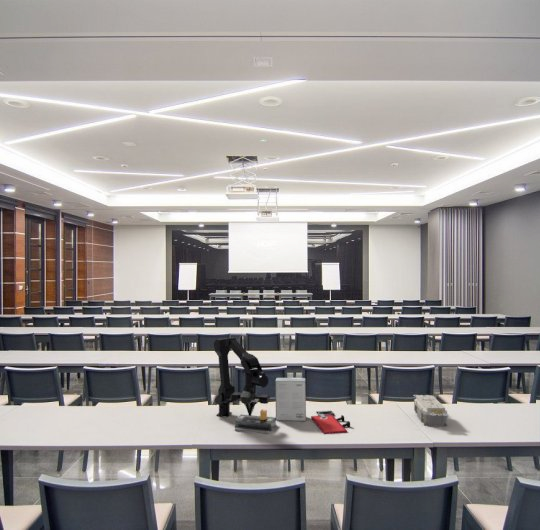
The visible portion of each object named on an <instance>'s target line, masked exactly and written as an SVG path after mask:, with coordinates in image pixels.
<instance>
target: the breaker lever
mask: <svg viewBox="0 0 540 530" xmlns="http://www.w3.org/2000/svg"><path fill="white" fill-rule="evenodd" d="M267 411H268V409H263V408H262V409H261V410H260V411H259V413H260V415H259V416H260V420H266V418H267V417H268V412H267Z"/></svg>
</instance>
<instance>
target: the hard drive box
mask: <svg viewBox="0 0 540 530" xmlns="http://www.w3.org/2000/svg"><path fill="white" fill-rule="evenodd" d="M274 383H275V390H274V392H275V418H276V421H295V422H301V421H302V422H303V421H304V422H305V421H306V420H307V407H306V405H307V402H306V401H307V398H306V397H307V396H306V395H307V394H306V393H307V390H306V389H307V388H306V387H307V386H306V385H307V384H306V378H305V377H276V379H275V382H274Z"/></svg>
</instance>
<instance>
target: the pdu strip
mask: <svg viewBox="0 0 540 530" xmlns="http://www.w3.org/2000/svg"><path fill="white" fill-rule="evenodd" d="M276 425H277V420H276V417H272V416H267V418H266V420H260V415H253V414H251V416H249V414H240V415H238V417H237V418H235V419H234V428H235V427H243V428H253V429H263V430H268V432H272V431H273V429H274V428H275V427H276Z"/></svg>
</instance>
